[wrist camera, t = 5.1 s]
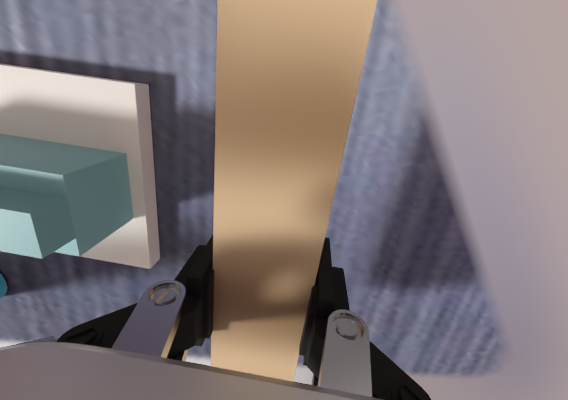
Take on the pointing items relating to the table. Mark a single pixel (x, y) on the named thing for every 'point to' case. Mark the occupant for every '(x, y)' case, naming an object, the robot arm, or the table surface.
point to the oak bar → (277, 167)
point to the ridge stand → (76, 167)
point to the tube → (2, 286)
